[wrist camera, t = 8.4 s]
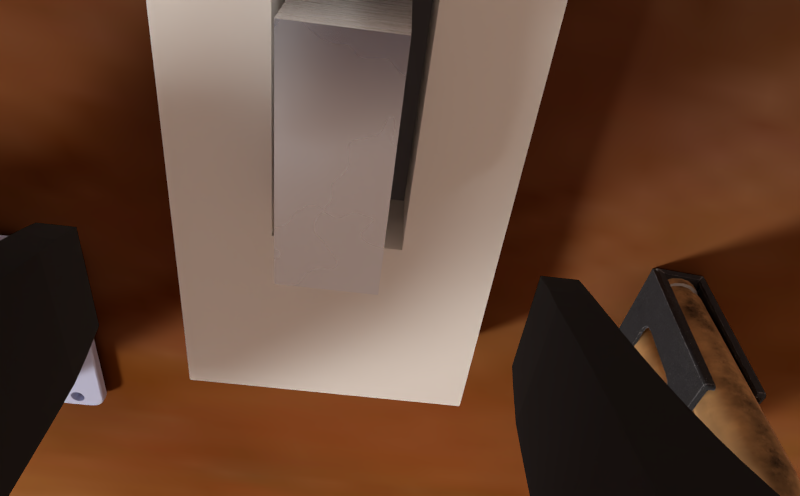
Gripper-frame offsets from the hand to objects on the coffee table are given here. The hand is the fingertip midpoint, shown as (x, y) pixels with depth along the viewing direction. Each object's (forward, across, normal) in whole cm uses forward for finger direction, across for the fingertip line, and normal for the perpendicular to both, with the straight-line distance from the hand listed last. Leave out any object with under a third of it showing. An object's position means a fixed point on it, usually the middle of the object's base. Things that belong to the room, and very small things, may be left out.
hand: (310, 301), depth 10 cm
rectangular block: (+9, 0, 0) cm, 9 cm away
